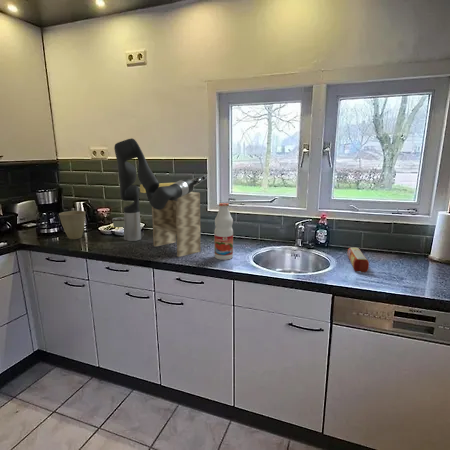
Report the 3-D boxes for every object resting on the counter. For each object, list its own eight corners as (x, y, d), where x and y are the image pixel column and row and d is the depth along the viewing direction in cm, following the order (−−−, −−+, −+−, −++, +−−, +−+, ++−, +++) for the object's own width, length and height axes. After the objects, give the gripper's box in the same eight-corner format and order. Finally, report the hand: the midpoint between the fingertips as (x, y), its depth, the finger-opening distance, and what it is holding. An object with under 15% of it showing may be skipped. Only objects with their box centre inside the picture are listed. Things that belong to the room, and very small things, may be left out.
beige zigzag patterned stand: (174, 241, 191) (172, 188, 184) (200, 251, 172) (200, 192, 165) (151, 246, 181) (149, 190, 174) (177, 257, 162) (175, 195, 155)
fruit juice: (232, 254, 167) (232, 202, 161) (233, 260, 158) (234, 204, 152) (214, 254, 167) (214, 201, 161) (214, 260, 158) (214, 204, 152)
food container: (134, 231, 214) (133, 217, 212) (130, 234, 208) (129, 219, 206) (116, 231, 215) (115, 216, 213) (112, 233, 209) (111, 218, 207)
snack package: (346, 257, 164) (347, 245, 162) (360, 258, 162) (361, 246, 161) (352, 272, 144) (354, 258, 142) (368, 273, 142) (370, 259, 141)
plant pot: (82, 233, 208) (80, 209, 204) (91, 238, 197) (89, 213, 194) (58, 237, 198) (55, 212, 195) (65, 242, 187) (63, 216, 184)
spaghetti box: (176, 189, 179) (175, 182, 178) (179, 190, 176) (179, 182, 176) (140, 192, 165) (139, 184, 164) (144, 193, 162) (143, 185, 161)
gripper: (188, 176, 150) (207, 168, 163) (168, 185, 158) (187, 177, 171) (195, 190, 151) (213, 181, 164) (175, 199, 160) (193, 189, 172)
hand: (200, 179), depth 168 cm, fingers open, 8 cm apart
